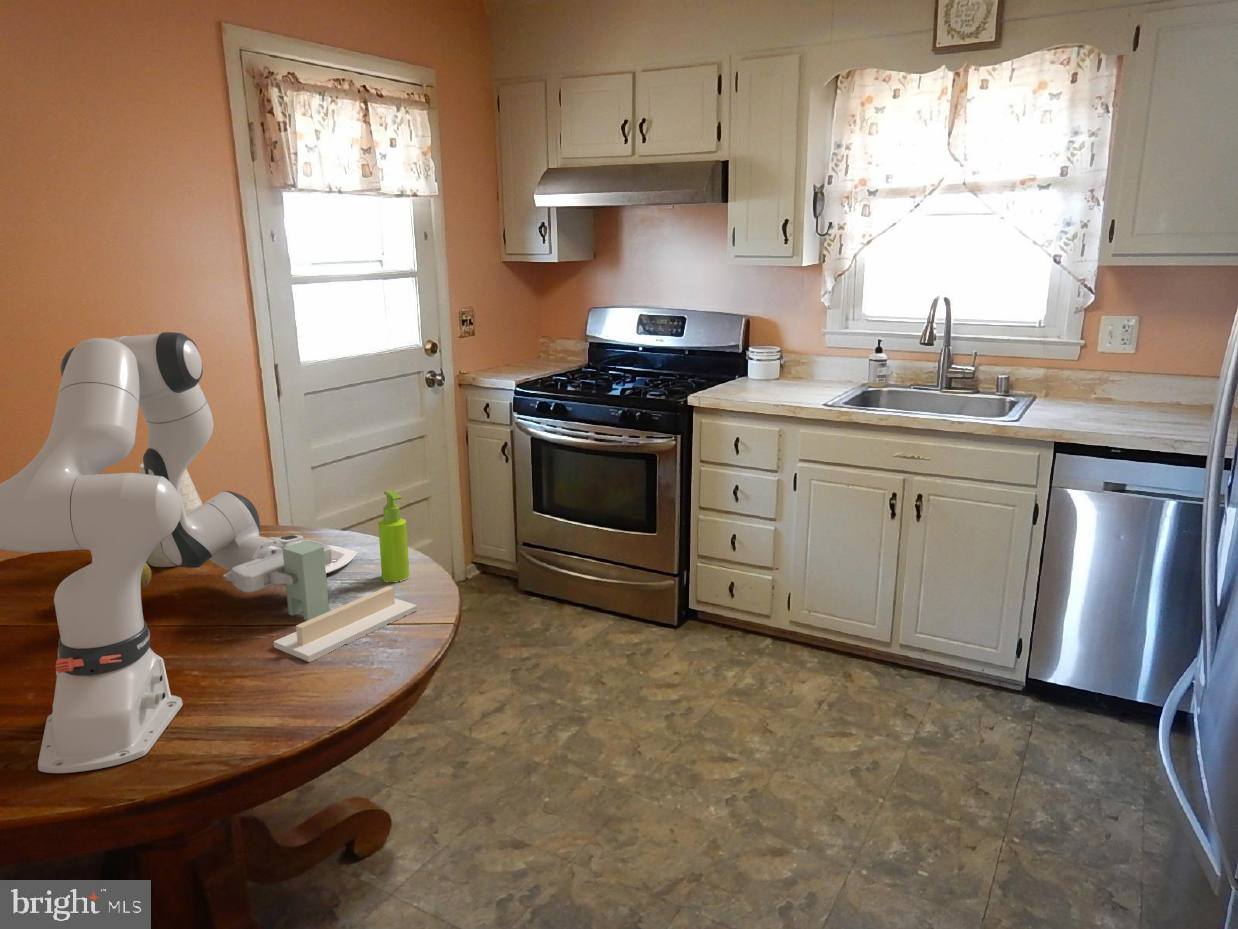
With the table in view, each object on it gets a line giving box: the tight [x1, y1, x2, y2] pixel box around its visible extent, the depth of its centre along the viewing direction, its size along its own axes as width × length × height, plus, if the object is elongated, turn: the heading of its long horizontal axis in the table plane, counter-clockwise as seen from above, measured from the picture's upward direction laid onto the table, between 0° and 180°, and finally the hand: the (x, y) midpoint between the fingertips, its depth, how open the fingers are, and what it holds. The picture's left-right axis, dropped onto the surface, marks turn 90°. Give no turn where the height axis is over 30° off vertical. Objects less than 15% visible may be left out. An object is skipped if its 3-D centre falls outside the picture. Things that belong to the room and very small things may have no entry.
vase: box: [138, 462, 203, 568], centre depth 196 cm, size 17×17×23 cm
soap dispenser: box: [377, 489, 410, 583], centre depth 186 cm, size 6×7×20 cm
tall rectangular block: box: [282, 541, 330, 622], centre depth 169 cm, size 5×6×14 cm
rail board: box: [273, 585, 418, 663], centre depth 164 cm, size 26×10×5 cm, turn 147°
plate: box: [325, 544, 358, 575], centre depth 195 cm, size 19×19×2 cm
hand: (308, 574), depth 168 cm, fingers open, 5 cm apart
